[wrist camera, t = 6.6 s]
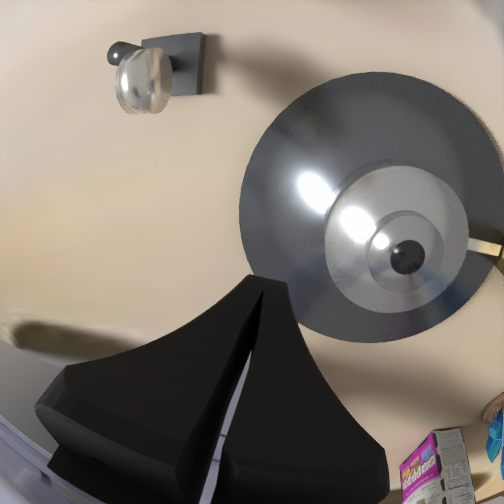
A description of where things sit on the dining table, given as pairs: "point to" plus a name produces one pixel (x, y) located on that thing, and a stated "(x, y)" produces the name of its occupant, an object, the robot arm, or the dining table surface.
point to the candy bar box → (438, 471)
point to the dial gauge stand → (157, 71)
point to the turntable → (343, 163)
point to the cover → (394, 236)
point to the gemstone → (495, 429)
